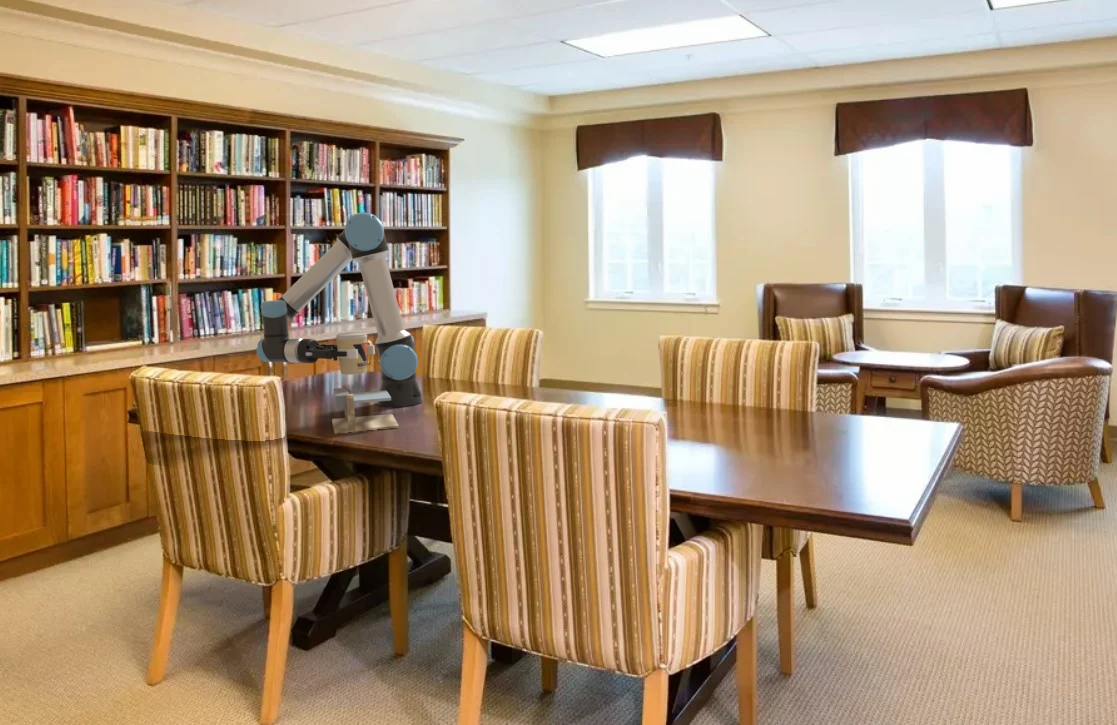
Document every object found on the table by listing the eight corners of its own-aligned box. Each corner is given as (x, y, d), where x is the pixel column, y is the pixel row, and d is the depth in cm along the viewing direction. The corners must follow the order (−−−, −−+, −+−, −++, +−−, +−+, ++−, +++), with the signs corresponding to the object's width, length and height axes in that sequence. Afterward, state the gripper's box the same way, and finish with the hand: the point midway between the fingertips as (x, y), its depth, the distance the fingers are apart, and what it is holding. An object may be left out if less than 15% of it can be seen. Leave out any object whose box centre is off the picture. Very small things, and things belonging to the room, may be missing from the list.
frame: (392, 416, 288) (390, 382, 287) (398, 428, 270) (396, 391, 269) (332, 421, 283) (329, 386, 282) (334, 433, 265) (332, 396, 264)
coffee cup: (361, 375, 273) (358, 335, 272) (332, 375, 275) (330, 335, 274) (374, 370, 282) (372, 331, 281) (346, 370, 284) (344, 332, 283)
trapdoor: (387, 398, 284) (386, 384, 284) (391, 406, 271) (390, 391, 271) (334, 402, 280) (333, 388, 280) (336, 410, 267) (335, 396, 266)
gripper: (324, 357, 295) (385, 359, 287) (282, 367, 275) (346, 369, 267) (322, 334, 294) (383, 335, 286) (280, 343, 274) (344, 344, 266)
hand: (365, 351), depth 276 cm, fingers closed on coffee cup, 9 cm apart
